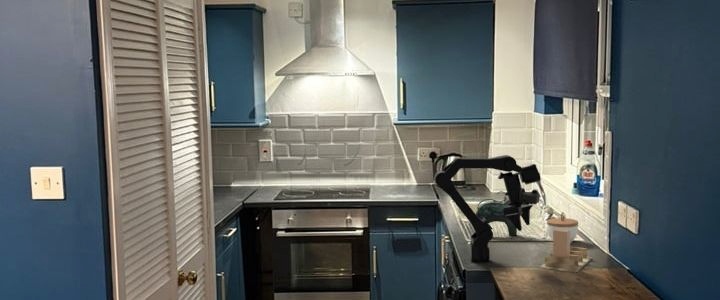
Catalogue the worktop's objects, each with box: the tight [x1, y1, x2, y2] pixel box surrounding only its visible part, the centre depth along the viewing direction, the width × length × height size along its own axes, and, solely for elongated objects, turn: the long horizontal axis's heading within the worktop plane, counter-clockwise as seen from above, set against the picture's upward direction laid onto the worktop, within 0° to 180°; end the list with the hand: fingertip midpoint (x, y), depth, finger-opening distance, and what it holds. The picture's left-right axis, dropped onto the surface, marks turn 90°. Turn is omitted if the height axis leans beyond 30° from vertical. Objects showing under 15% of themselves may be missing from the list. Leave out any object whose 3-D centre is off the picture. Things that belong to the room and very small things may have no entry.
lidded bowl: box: [546, 215, 579, 244], centre depth 268 cm, size 13×13×11 cm
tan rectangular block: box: [552, 229, 571, 259], centre depth 230 cm, size 4×5×13 cm
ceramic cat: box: [475, 190, 518, 237], centre depth 283 cm, size 20×6×20 cm, turn 85°
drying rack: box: [539, 246, 593, 273], centre depth 235 cm, size 13×21×4 cm, turn 146°
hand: (524, 227), depth 240 cm, fingers open, 9 cm apart
